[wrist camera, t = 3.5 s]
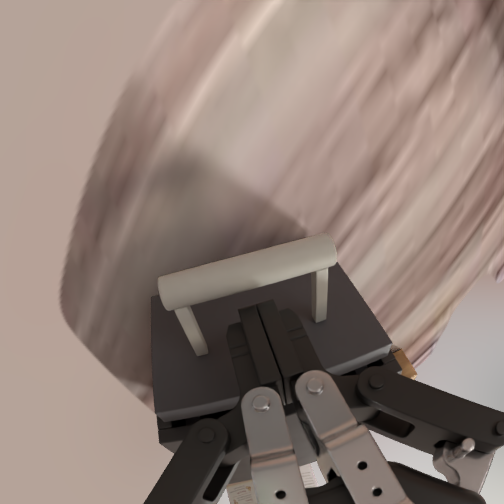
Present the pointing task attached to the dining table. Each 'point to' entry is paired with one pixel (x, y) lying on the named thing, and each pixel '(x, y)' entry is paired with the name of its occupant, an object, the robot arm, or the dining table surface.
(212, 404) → the drawer
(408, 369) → the block
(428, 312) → the dining table surface
